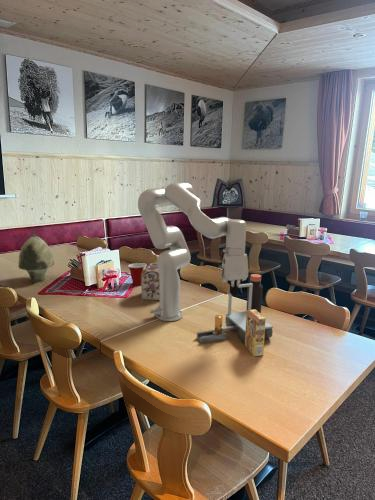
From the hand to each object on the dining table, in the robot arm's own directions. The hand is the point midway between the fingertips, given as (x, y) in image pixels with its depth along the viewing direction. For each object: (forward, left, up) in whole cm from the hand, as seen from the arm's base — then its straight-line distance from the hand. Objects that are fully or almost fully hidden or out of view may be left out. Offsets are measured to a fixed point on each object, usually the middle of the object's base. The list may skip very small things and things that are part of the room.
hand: (233, 294), depth 150 cm
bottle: (+19, +15, -19) cm, 31 cm away
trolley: (+8, 0, -18) cm, 20 cm away
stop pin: (-3, 0, -17) cm, 17 cm away
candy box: (+3, -14, -19) cm, 23 cm away
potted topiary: (-78, +101, -19) cm, 129 cm away
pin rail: (-9, 0, -18) cm, 20 cm away
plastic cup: (-23, +76, -19) cm, 82 cm away
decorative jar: (-19, +54, -19) cm, 60 cm away
